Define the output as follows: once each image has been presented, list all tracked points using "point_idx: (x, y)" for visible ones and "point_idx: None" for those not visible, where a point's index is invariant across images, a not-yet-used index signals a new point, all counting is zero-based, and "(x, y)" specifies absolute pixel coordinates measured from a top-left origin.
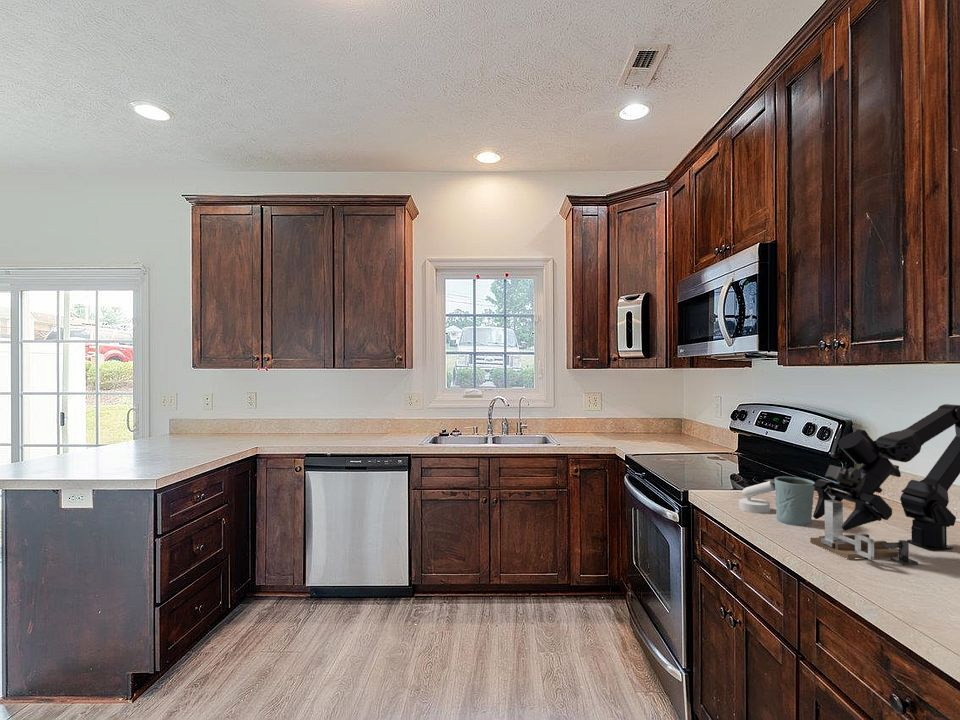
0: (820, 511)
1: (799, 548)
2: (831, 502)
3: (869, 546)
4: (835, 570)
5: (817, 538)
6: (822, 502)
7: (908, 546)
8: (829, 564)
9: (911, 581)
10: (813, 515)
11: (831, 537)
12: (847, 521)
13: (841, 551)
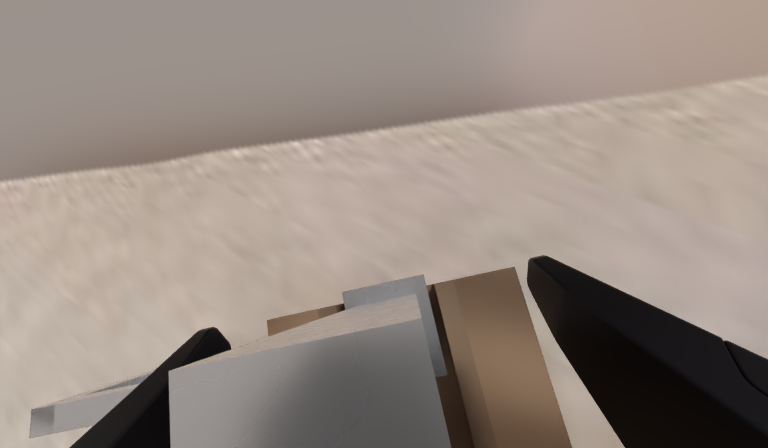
0: (586, 339)
1: (409, 180)
2: (211, 364)
3: (94, 389)
4: (176, 203)
5: (506, 300)
6: (737, 434)
7: None
8: (231, 212)
9: (53, 434)
10: (545, 258)
11: (363, 305)
12: (143, 387)
13: (306, 313)
